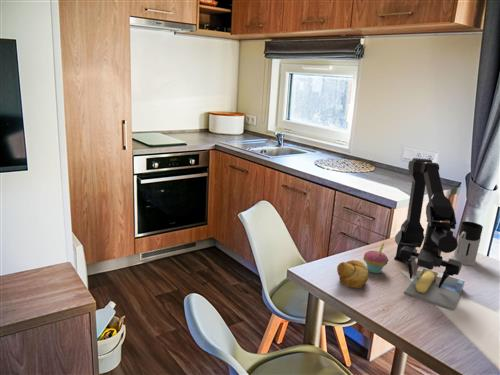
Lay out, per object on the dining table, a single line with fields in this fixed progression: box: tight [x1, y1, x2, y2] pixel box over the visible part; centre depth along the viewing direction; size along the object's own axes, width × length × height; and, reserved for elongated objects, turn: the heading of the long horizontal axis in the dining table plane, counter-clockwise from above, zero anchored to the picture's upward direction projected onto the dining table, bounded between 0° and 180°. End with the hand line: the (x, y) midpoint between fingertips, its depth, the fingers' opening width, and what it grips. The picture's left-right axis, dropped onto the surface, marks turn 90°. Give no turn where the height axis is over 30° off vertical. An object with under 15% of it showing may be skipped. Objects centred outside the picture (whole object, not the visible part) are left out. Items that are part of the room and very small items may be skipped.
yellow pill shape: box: [416, 271, 434, 293], centre depth 142 cm, size 14×4×4 cm, turn 145°
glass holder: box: [451, 221, 484, 266], centre depth 164 cm, size 9×14×15 cm, turn 133°
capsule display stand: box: [403, 266, 466, 311], centre depth 141 cm, size 15×17×4 cm
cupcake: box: [362, 241, 389, 274], centre depth 151 cm, size 9×8×12 cm
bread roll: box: [336, 259, 369, 289], centre depth 142 cm, size 13×10×8 cm
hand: (424, 282), depth 142 cm, fingers open, 9 cm apart
